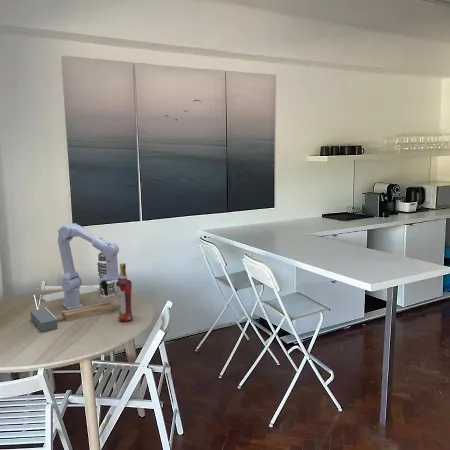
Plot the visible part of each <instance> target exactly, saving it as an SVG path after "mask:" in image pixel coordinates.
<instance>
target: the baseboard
mask: <svg viewBox="0 0 450 450" xmlns="http://www.w3.org/2000/svg"><path fill="white" fill-rule="evenodd" d="M79 291H80V296H82V295H86V294H91V293H95V292H96V293H97V292H100V290H99V289H98V287H95V286H94V285H88V286H83V287H80V289H79ZM64 292H65V291H64V290H63V291H59V292H54V293H49V294H43V295H38V298H39V299H40V298H41V300H42V301H43V302H45V303H48V302H53V301H57V300H58V301H59V300H64Z"/></svg>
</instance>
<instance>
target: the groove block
mask: <svg viewBox="0 0 450 450" xmlns="http://www.w3.org/2000/svg"><path fill="white" fill-rule="evenodd" d="M30 319H31V321H32V322H33V324H34V325H35V326H36V327H37V329H38V330H39V331H40V332H41V333H46V332H50V331H54V330H58V323H57V318H56V316H55V315H54V314H53V313H52V312H51V311H50V310H49V309H48V308H47V307H46V306H44V307H43V308H40V309H34V310H30Z"/></svg>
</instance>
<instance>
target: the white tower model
mask: <svg viewBox="0 0 450 450" xmlns="http://www.w3.org/2000/svg"><path fill="white" fill-rule="evenodd" d="M97 256H98V257H97V258H98V259H97V260H98V261H97V272H98V277H99V278H103V277H106V276H107V271H106V259H105V256H104V254H103V252H101V251H100V252H99V253H98V254H97ZM106 282H107V284H108V296H106V295H105V292H104V289H103V287H102V285H101V284H100V283H99V282H98V283H99V284H98V285H99V289H98V290H99V296H100V297H101V298H109V297H110V296H111V297H113V295H114V296H115V295H116V282H115V280H112V281H106Z"/></svg>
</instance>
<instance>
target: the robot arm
mask: <svg viewBox="0 0 450 450" xmlns="http://www.w3.org/2000/svg"><path fill="white" fill-rule="evenodd" d="M57 233H58V236H57V237H58V238H57V243H58V244H57V245H58V249H59V254H60V258H61V263H62V267H63V275H62V278H61V288H62V290H63V291H65V292H64V298H63V300H64V303H63V304H62V306H64V308H66V309H67V310H71V309H76V308H81V307H84V305H83V304H82V303H81V295H80V291H79V289H80V288H81V286H82V282H83V281H82V279H81V277H80V274H79V273H78V271H76V268H75V264H74V260H73V254H72V249H71V245H70V242H71V241H72V239H73V238H74V237H80V238H81V239H83V240H85V241H87V242H89V243H91V244H92V247H93V248H95V249H96V250H99V251H100V252H103V254H104V256H105V259H106V271H107V276H106V277H103V278H100V277H99V278H98V280H97V281H98V283H100V284H101V285H102V287H103V289H104V292H105V295H106V296H108V284H107V282H106V281H112V280H114V281H115V280H117V281H119V280H120V276H121V273H120V274H119V265H118V254H119V252H120V248H119V246H118V245H117V244H116V243H111V242H110V241H107V240H106V239H104V237H102V236H97V237H95V236H94V235H92V234H91V233H90V232H88V231H87V230H86V229H84V228H83V227H82V226H81V225H79V224H78V223H75V222H74V223H70V224H66V225H62V226H61V227H60V228H58V230H57ZM126 277H127V278H128V275H127V273H126Z"/></svg>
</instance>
